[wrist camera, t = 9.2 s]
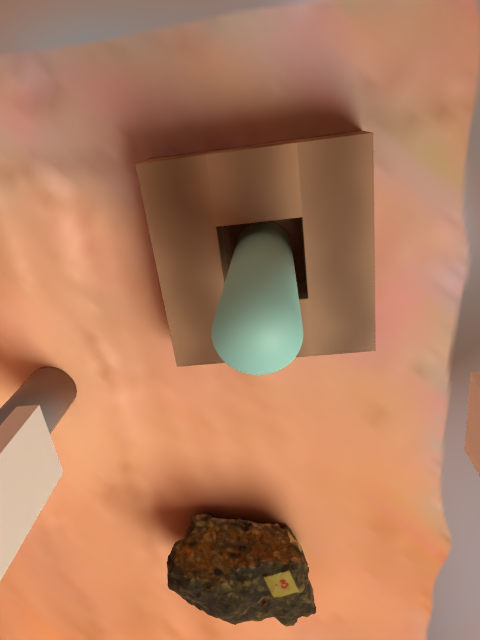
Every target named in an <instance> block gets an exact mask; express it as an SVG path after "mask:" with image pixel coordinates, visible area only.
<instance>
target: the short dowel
mask: <svg viewBox="0 0 480 640" xmlns="http://www.w3.org/2000/svg"><path fill="white" fill-rule="evenodd" d="M76 393H77V390H76V385H75V383H74V381H73V379H72V378H71V377H70V376H69V375H68V374H67V373H65V372H64V371H62V370H60V369H58V368H54V367H43V368H40V369H38V370H36V371H35V372H34V373H33V374H32V375H31V376H30V377H29V378H28V379H27V381H26V382H25V383H24V384H23V385H22V386H21V387H20V388H19V389H18V390H17V391H16V392H15V393H14V395H13V396H12V397H11V398H10V399H9V400H8V401H7V402H6V403H5V404H4V405H3V406H2V407H1V408H0V425H1V424H2V423H3V422H4V421H5V419H6V418H7V417H8V416H9V415H10V414H11V413H12V411H13V410H14V409H15V408H16V407H18V406H31V405H40V408H41V411H42V414H43V417H44V419H45V422H46V425H47V428H48V430H49V433H51V432H52V431H53V429H54V428H55V426H56V425H57V423H58V422H59V421H60V419H61V418H62V416H63V415H64V413H65V412H66V411H67V409H68V408H69V406H70V405H71V404H72V402H73V401H74V399H75V397H76Z"/></svg>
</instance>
